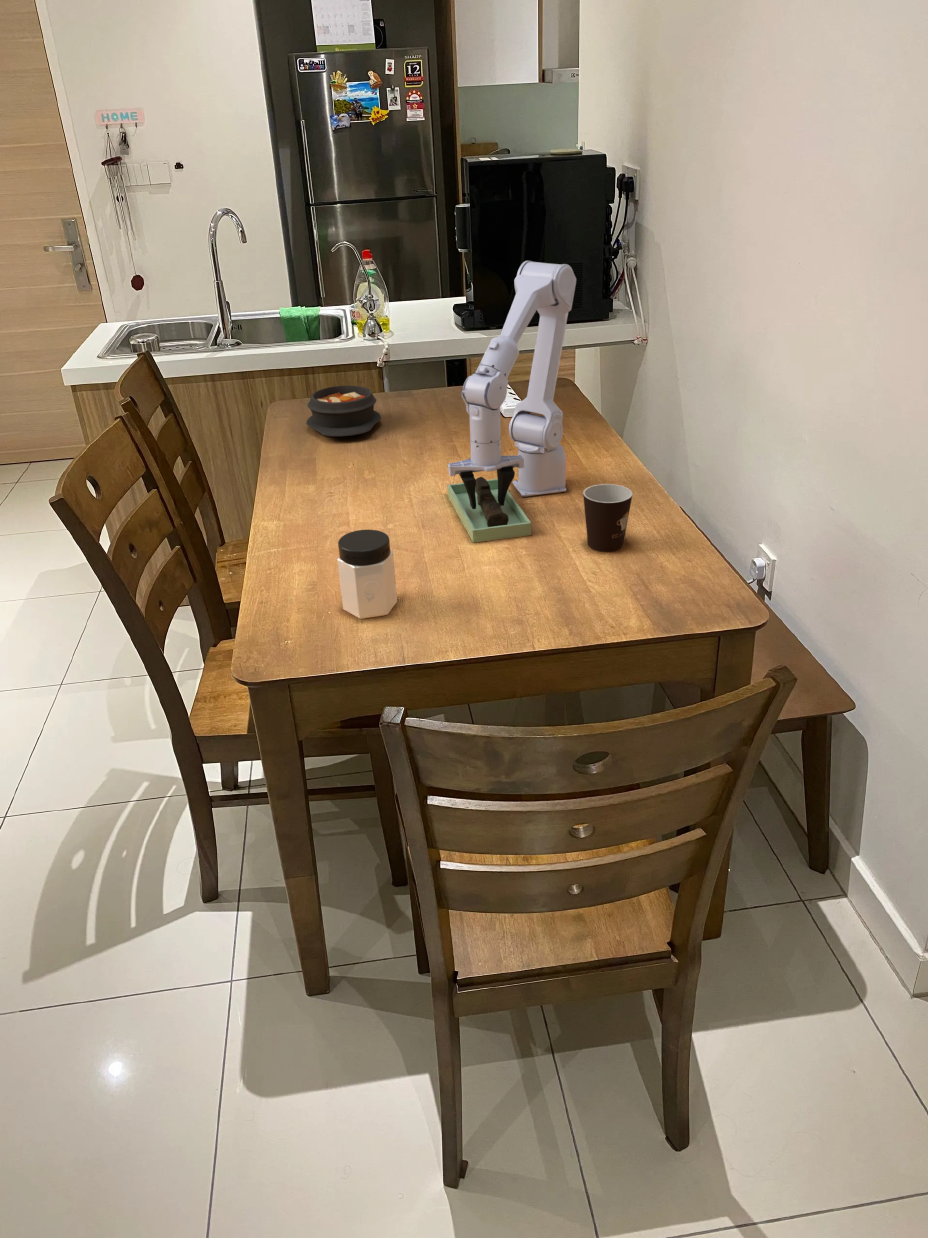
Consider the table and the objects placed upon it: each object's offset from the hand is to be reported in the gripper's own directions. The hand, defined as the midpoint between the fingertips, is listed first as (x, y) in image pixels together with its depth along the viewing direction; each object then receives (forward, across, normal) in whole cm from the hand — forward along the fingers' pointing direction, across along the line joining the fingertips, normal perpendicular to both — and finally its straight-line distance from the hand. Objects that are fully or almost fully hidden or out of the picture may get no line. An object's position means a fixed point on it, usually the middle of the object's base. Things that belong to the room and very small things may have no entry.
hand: (487, 505), depth 182 cm
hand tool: (+2, 0, 0) cm, 2 cm away
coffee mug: (+2, +19, -19) cm, 27 cm away
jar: (+2, -27, -30) cm, 41 cm away
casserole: (+2, -21, +63) cm, 67 cm away
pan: (+2, 0, 0) cm, 2 cm away
